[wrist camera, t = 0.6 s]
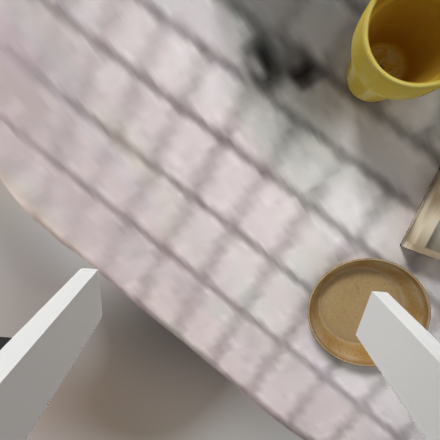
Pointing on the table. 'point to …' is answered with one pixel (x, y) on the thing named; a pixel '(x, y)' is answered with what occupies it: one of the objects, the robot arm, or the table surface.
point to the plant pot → (396, 50)
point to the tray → (426, 224)
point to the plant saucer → (360, 304)
